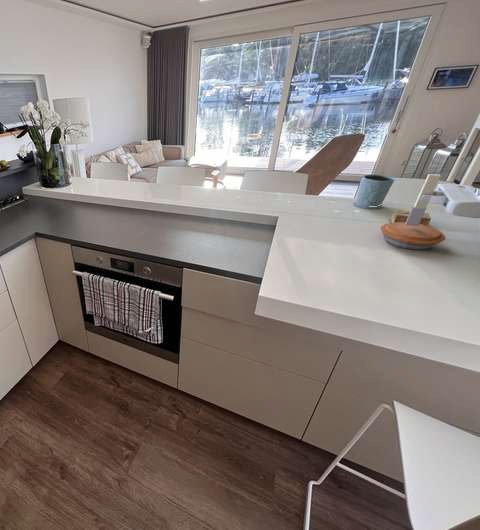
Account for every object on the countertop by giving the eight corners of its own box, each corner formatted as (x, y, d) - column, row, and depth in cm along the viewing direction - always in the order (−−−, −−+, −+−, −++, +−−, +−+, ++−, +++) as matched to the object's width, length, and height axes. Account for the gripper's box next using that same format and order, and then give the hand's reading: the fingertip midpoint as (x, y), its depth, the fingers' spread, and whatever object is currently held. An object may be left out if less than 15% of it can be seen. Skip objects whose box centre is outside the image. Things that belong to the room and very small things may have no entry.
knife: (417, 224, 92) (441, 174, 84) (418, 227, 90) (442, 175, 82) (404, 223, 93) (426, 173, 85) (405, 225, 92) (428, 175, 84)
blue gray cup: (352, 200, 129) (361, 173, 123) (381, 202, 124) (392, 174, 118) (354, 208, 122) (364, 179, 116) (385, 210, 117) (397, 181, 111)
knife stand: (423, 223, 105) (428, 212, 103) (426, 229, 101) (431, 218, 99) (390, 219, 109) (395, 209, 107) (392, 225, 105) (396, 215, 103)
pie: (369, 231, 103) (374, 218, 100) (424, 233, 98) (431, 220, 95) (387, 250, 91) (393, 236, 88) (451, 255, 86) (460, 240, 83)
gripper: (483, 179, 86) (419, 177, 93) (508, 200, 72) (431, 195, 79) (471, 200, 89) (411, 196, 96) (493, 224, 75) (421, 216, 82)
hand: (420, 195), depth 87 cm, fingers closed on knife, 2 cm apart
